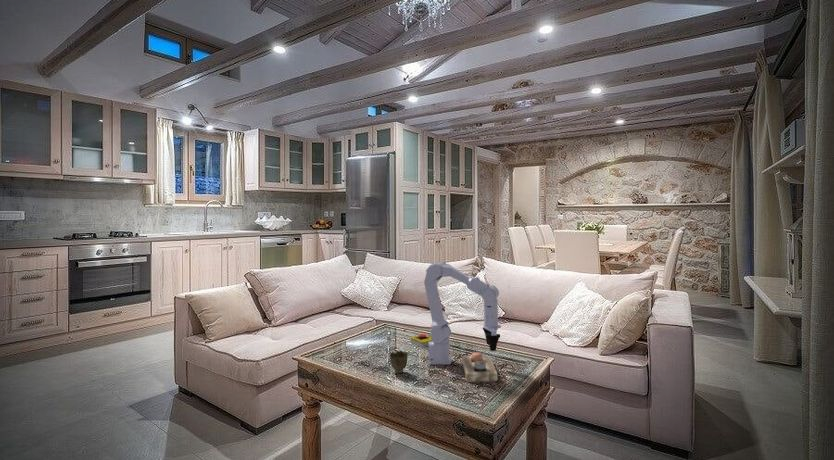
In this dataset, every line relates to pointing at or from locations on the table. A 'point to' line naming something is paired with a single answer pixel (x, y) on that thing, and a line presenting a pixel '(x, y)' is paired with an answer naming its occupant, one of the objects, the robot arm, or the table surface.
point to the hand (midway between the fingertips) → (491, 347)
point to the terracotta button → (476, 357)
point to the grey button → (480, 366)
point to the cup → (398, 361)
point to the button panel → (479, 376)
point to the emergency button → (421, 340)
